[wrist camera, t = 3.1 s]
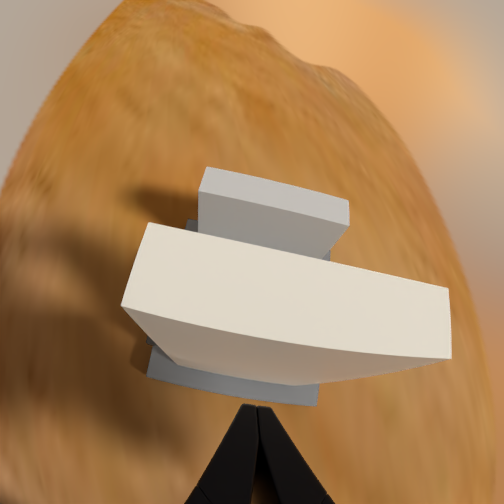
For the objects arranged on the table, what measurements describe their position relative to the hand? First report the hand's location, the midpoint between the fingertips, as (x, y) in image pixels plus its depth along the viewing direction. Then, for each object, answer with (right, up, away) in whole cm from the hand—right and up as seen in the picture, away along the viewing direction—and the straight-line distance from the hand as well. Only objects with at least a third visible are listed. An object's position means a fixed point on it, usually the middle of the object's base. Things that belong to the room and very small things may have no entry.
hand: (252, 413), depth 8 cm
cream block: (-1, -1, +7) cm, 7 cm away
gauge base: (0, +1, +9) cm, 9 cm away
